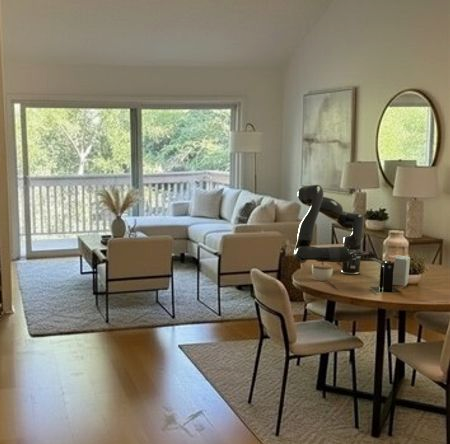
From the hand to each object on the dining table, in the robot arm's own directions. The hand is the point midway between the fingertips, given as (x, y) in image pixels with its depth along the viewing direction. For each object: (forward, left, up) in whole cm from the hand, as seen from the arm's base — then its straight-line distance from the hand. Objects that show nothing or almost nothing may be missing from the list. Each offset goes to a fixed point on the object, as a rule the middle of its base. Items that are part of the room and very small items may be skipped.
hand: (373, 254), depth 269 cm
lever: (0, +1, -4) cm, 5 cm away
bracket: (-3, +6, -18) cm, 19 cm away
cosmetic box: (-19, +10, -19) cm, 29 cm away
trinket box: (-11, -27, -18) cm, 35 cm away
